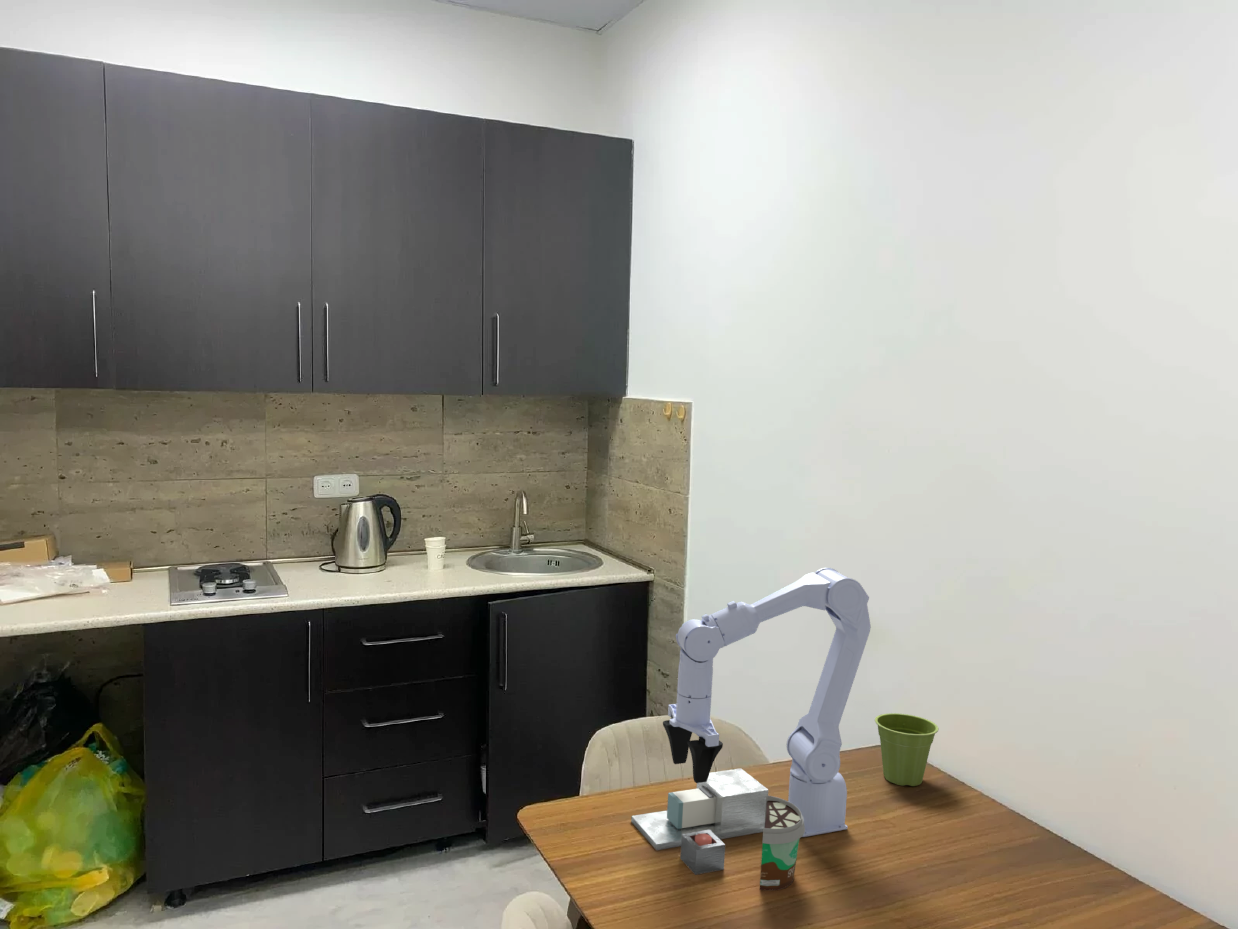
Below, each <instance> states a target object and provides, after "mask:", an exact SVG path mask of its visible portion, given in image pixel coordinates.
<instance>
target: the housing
mask: <svg viewBox="0 0 1238 929" xmlns="http://www.w3.org/2000/svg"><path fill="white" fill-rule="evenodd" d="M701 787H704V788H705V787H706V788H707V789H708V790H709V791H710V792H711V793H712V794H713V795H715V796H716V797H717V801H716V817H715V823H711V824H705V825H699V826H692V827H686V828H680V829H677V828H676V827H675V826H674V825H673V824H672V823H671V822H670V821H669V820H668V819H667V810H662V811H661V810H660V811H655V812H654V811H653V812H648V813H642V814H636V815H631V816H630V817H631V823H632V824H633V825H634V827H635V828H636V829H637V830H638V831H639V832H640V833H641V835H642V836H643V837H644V838H645V839H646V840H647V841H648V843H650V845H651V846H652V847H653V848H654V849H655V851H661V850H666V849H672V848H676V847H677V848H678V847H681V838H682V834H686V833H692V832H698V831H704V830H711V831H712V832H713V833H714V834H715V835H716V836H717V837H718V838H719V839H720V840H723V839H729V838H735V837H741V836H746V835H752V834H758V833H763V828H764V825H765V810H766V795H768V796H769V788H767V787H766V786H765V785H763V784H762V783H760V782H759V781H758V780H757V779H755V778H754V777H753V776H752V775H750V773H748V772H747V771H745V770H744V769H742V768H741V767H740V768H735V769H726V770H719V771H713V772H711V771H710V773H709V776H708V779H707V782H702V783H696V789H698V788H701Z"/></svg>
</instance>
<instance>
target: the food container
mask: <svg viewBox="0 0 1238 929" xmlns="http://www.w3.org/2000/svg"><path fill="white" fill-rule="evenodd" d="M804 833H805V826H804V820H803V816H802V813H801V811H800V810H799V809H798V808H797V807H796V806H795V805H794V804H792V803H790V802H788V800H786V799H783V798H781V797H778V796H772V795H769V794H768V795H766V810H765V825H764V828H763V832H762V843H761V844H762V846H761V860H760V874H759V875H760V879H759V891H779V890H780V891H781V890H782V889H786V888H788V887H789V886H791V885H792V884H793V882H794V878H795V872H796V871H795V870H796V866H797V865H796V864H797V857H798V852H799V844H800V839H801V838H803V837H802V836H803V834H804Z"/></svg>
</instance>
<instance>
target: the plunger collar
mask: <svg viewBox="0 0 1238 929" xmlns="http://www.w3.org/2000/svg"><path fill="white" fill-rule="evenodd" d="M697 834H707V835H710V836H711V837H712V844H707V845H702V846H699V845H698V844H697V843H696V842H695V836H696V835H697ZM679 858H680V860H681V861H682V862H683V863H684V864H685V865H686V867H687V868H688V869H689V870H690V871H691V872H692V873H693V874H694V876H696V875H697V876H698V875H701V874H708V873H713V872H718V871H724V870H725V858H726V844H725V843H724V842H723V841H722V839H719V838H718V837H717V836H716V835H715V834H714V833H713V832H712V831H711V830H704V831H698V832H692V833H686V834H682V838H681V846H680V857H679Z"/></svg>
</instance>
